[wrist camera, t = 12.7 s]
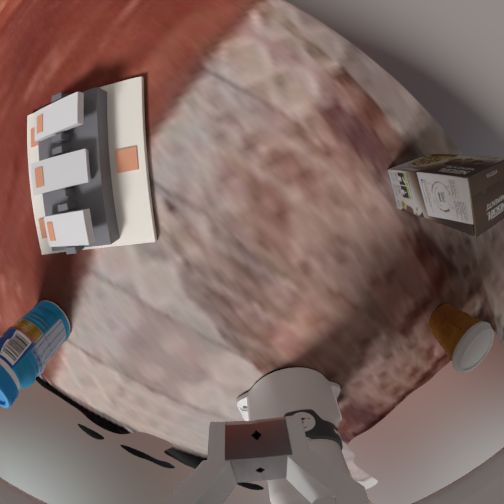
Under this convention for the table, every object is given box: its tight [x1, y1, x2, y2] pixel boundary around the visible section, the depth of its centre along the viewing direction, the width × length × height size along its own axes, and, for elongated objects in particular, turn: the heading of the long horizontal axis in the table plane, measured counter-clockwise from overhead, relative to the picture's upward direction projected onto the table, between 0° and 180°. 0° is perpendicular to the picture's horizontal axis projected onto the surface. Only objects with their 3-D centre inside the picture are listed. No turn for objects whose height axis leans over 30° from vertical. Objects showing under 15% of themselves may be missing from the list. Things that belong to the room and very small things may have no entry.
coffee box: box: [388, 154, 504, 237], centre depth 27 cm, size 9×6×16 cm
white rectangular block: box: [44, 208, 95, 247], centre depth 28 cm, size 4×8×1 cm, turn 94°
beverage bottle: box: [0, 300, 70, 408], centre depth 29 cm, size 8×8×20 cm
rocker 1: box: [35, 92, 84, 141], centre depth 24 cm, size 4×8×1 cm, turn 94°
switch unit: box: [27, 76, 157, 255], centre depth 29 cm, size 22×20×6 cm
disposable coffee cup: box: [429, 304, 494, 373], centre depth 37 cm, size 10×10×12 cm
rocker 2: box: [31, 149, 91, 195], centre depth 26 cm, size 4×8×1 cm, turn 94°
